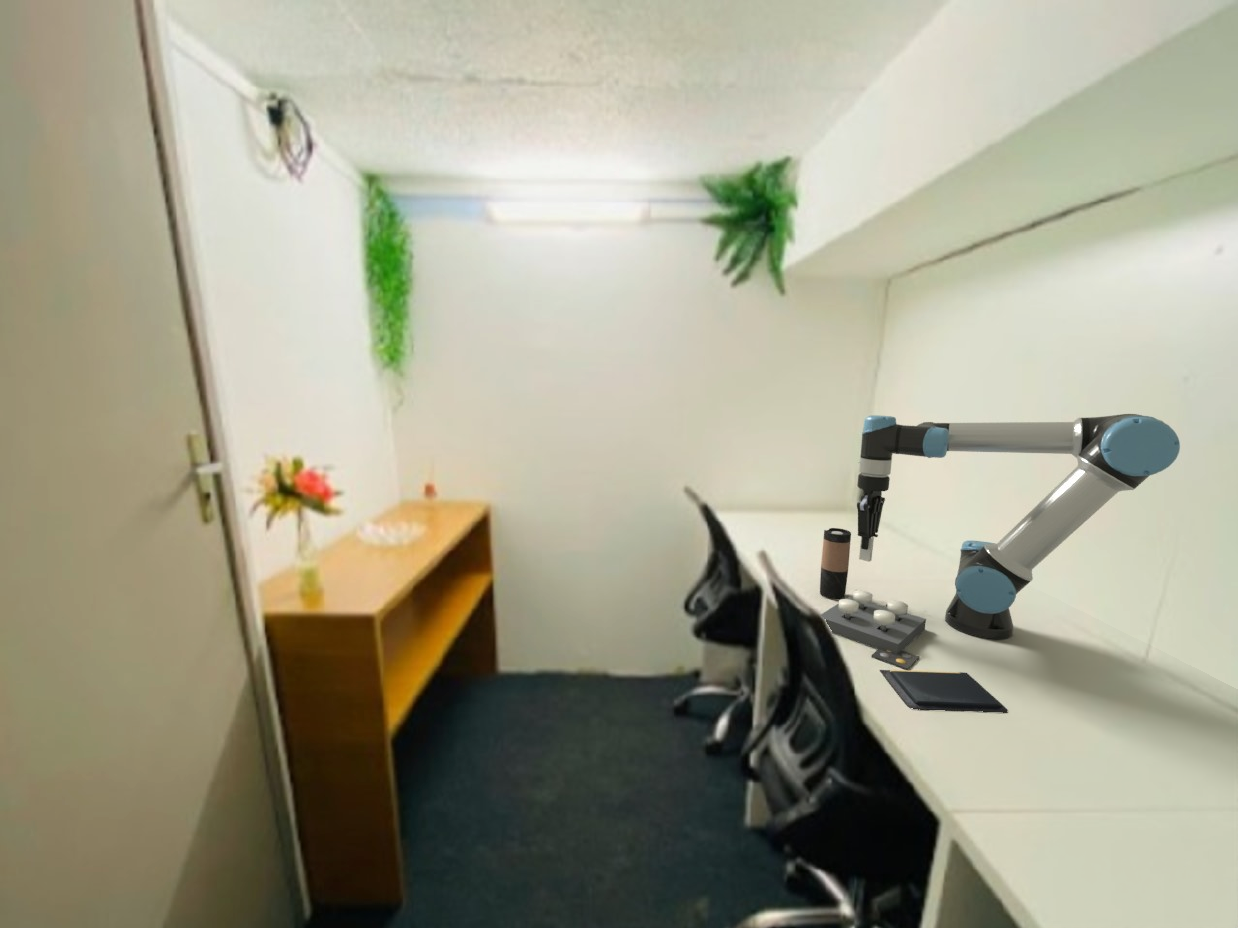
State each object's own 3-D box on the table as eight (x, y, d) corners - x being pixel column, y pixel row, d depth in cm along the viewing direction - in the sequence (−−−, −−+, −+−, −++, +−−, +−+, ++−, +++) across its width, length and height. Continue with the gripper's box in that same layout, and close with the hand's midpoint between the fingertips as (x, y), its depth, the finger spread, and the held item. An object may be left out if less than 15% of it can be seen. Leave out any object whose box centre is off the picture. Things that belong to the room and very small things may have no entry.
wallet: (909, 703, 108) (878, 663, 123) (908, 712, 108) (877, 671, 123) (1013, 709, 107) (969, 667, 122) (1012, 717, 107) (968, 675, 122)
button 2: (896, 632, 136) (898, 614, 135) (889, 638, 133) (891, 619, 132) (876, 625, 140) (878, 608, 139) (869, 631, 136) (870, 613, 135)
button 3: (873, 610, 149) (875, 593, 148) (866, 615, 145) (868, 598, 145) (856, 604, 152) (857, 588, 151) (848, 609, 149) (850, 593, 148)
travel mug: (848, 601, 160) (854, 535, 157) (820, 598, 162) (826, 534, 158) (843, 591, 167) (848, 528, 164) (817, 588, 169) (822, 526, 166)
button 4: (860, 620, 143) (861, 603, 142) (852, 625, 139) (854, 608, 138) (842, 614, 146) (843, 597, 145) (834, 619, 143) (835, 602, 142)
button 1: (908, 621, 142) (910, 604, 141) (902, 627, 139) (904, 609, 138) (889, 615, 146) (891, 598, 145) (882, 620, 142) (884, 603, 142)
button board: (924, 629, 143) (926, 618, 142) (896, 655, 129) (898, 644, 128) (849, 605, 157) (850, 595, 156) (816, 626, 143) (817, 616, 143)
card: (919, 657, 128) (919, 655, 128) (907, 670, 123) (907, 667, 123) (884, 645, 134) (884, 643, 134) (871, 656, 128) (871, 654, 128)
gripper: (869, 469, 150) (861, 551, 154) (849, 475, 141) (841, 561, 145) (898, 473, 144) (888, 558, 148) (879, 479, 135) (869, 569, 139)
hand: (865, 559), depth 146 cm, fingers closed
